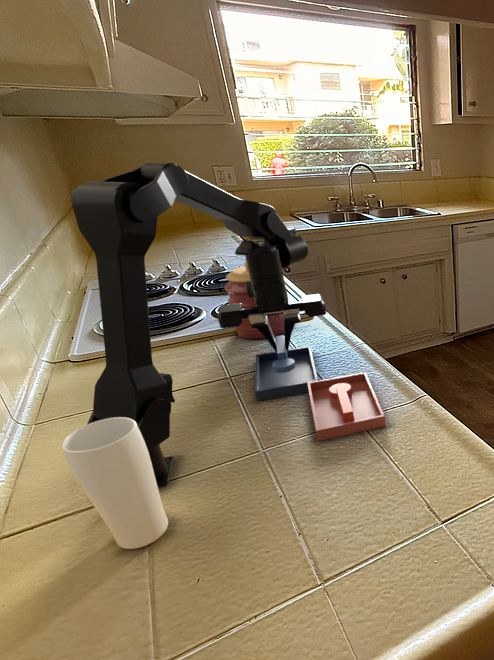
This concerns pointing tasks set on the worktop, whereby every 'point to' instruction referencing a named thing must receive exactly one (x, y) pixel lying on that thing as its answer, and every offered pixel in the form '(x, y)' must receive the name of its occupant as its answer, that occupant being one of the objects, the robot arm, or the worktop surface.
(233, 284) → the kitchen canister
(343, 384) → the terracotta spoon
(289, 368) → the blue spoon
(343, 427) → the rose tray
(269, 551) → the worktop surface
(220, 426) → the worktop surface
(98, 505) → the drinking glass
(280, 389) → the navy tray
